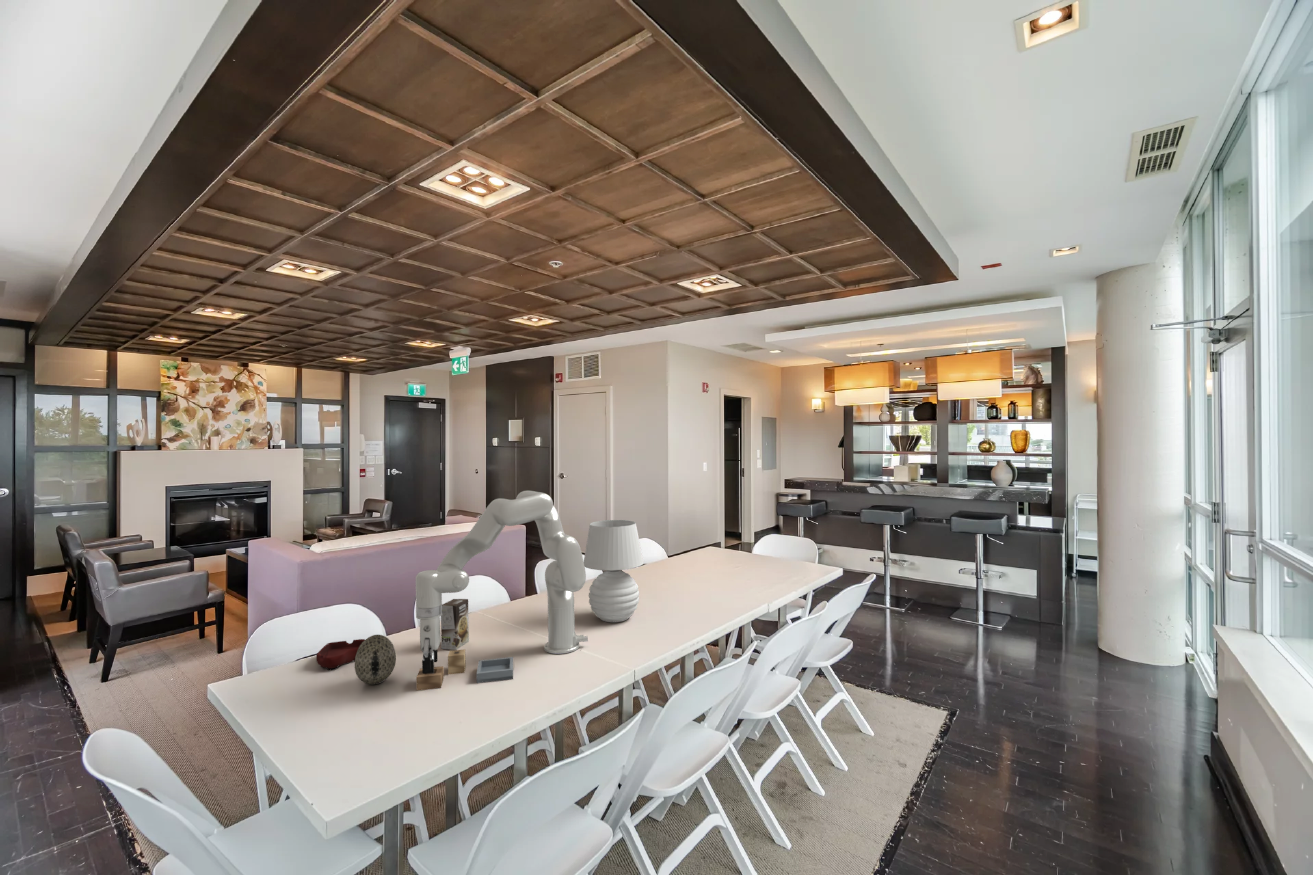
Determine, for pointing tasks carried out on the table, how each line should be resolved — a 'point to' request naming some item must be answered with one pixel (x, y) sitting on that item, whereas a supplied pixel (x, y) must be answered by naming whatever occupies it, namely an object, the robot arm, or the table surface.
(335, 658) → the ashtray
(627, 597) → the table lamp
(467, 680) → the table surface
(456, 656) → the oak block
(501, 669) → the tray
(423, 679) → the tan wooden square frame
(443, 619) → the coffee box
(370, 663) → the decorative egg
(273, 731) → the table surface
